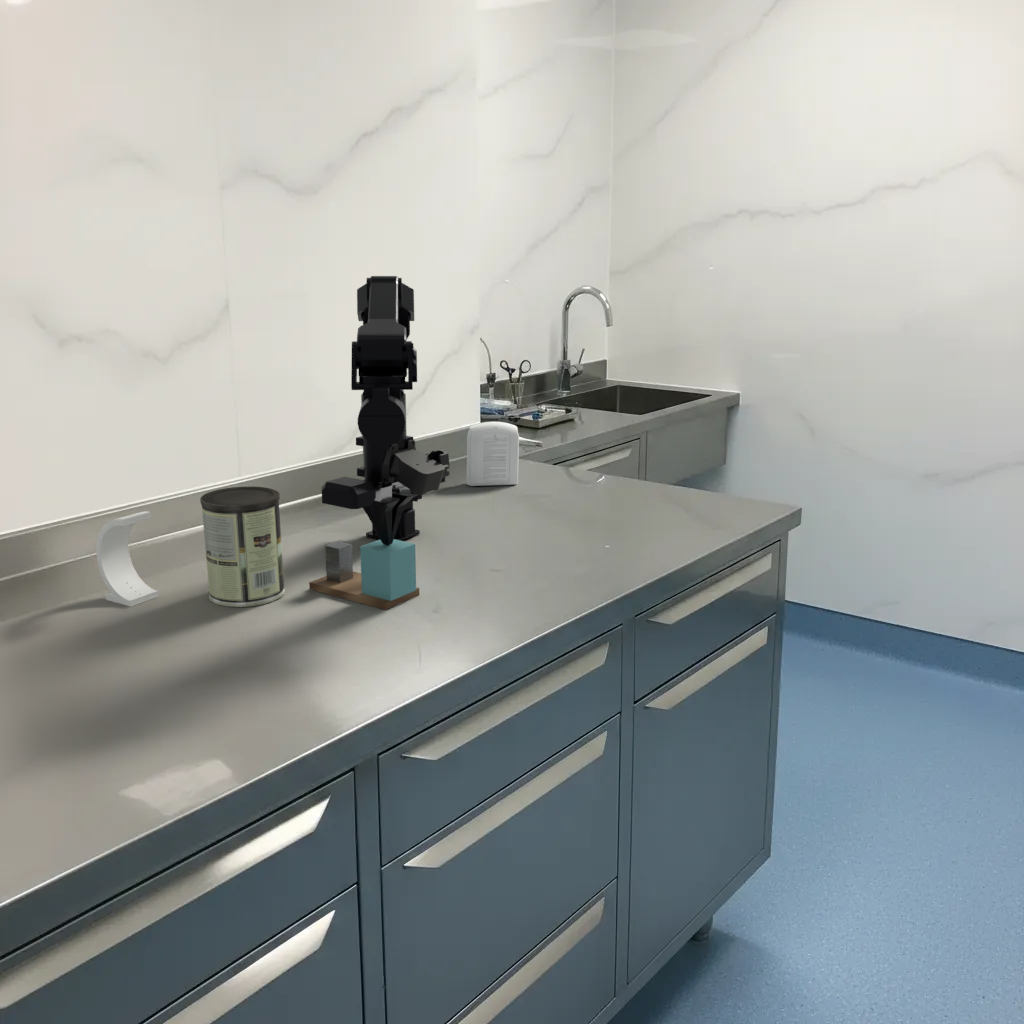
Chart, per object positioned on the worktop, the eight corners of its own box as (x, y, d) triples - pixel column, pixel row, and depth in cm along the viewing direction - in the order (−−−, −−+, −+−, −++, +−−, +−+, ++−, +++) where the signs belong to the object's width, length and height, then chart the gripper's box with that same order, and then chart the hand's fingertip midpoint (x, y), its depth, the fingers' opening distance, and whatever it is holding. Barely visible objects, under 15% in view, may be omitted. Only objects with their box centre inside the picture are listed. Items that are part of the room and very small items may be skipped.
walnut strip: (309, 589, 146) (309, 582, 146) (344, 575, 151) (344, 569, 151) (385, 609, 138) (385, 602, 138) (419, 594, 144) (419, 588, 143)
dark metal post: (326, 579, 147) (325, 545, 145) (339, 574, 149) (338, 541, 147) (340, 583, 145) (338, 548, 144) (353, 578, 147) (351, 544, 146)
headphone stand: (130, 606, 139) (122, 519, 136) (100, 598, 142) (91, 513, 139) (158, 596, 143) (150, 511, 139) (128, 588, 146) (120, 505, 142)
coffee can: (235, 578, 150) (229, 483, 146) (298, 587, 147) (294, 489, 143) (192, 602, 141) (183, 501, 137) (258, 611, 137) (252, 508, 134)
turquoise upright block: (361, 593, 141) (360, 546, 140) (387, 582, 146) (386, 537, 144) (390, 600, 139) (389, 553, 137) (416, 590, 143) (415, 543, 141)
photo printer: (516, 480, 208) (516, 419, 205) (520, 485, 204) (521, 423, 201) (465, 482, 206) (464, 420, 203) (468, 488, 202) (468, 424, 199)
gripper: (383, 449, 124) (387, 573, 128) (476, 425, 139) (477, 537, 143) (316, 438, 130) (321, 557, 135) (412, 416, 145) (414, 524, 149)
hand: (387, 544), depth 140 cm, fingers closed
